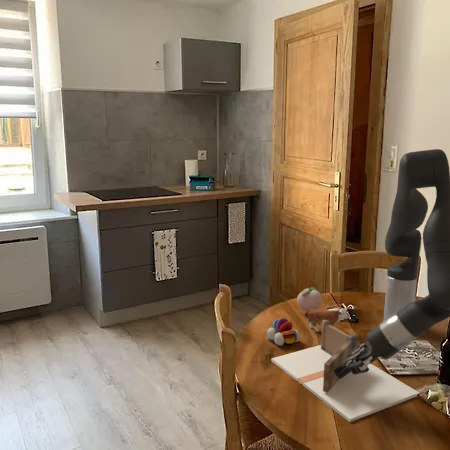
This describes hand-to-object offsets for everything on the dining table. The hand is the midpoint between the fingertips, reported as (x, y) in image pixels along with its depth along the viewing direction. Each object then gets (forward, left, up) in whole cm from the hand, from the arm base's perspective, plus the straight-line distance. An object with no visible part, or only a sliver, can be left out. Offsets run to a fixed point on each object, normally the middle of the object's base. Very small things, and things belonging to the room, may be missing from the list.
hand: (337, 374), depth 120 cm
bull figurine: (-22, -29, -5) cm, 37 cm away
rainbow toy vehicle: (-5, -30, -5) cm, 31 cm away
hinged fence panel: (-3, -3, -3) cm, 5 cm away
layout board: (-6, -5, -5) cm, 9 cm away
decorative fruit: (-26, -43, -5) cm, 50 cm away
